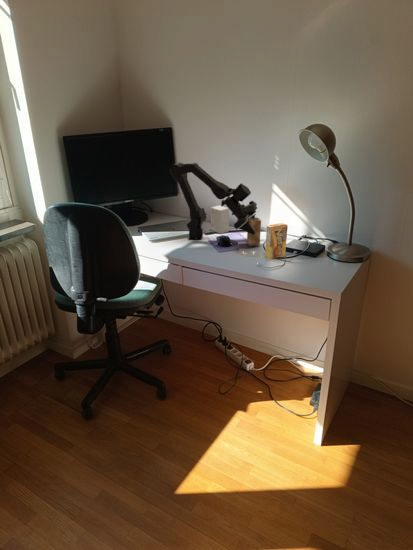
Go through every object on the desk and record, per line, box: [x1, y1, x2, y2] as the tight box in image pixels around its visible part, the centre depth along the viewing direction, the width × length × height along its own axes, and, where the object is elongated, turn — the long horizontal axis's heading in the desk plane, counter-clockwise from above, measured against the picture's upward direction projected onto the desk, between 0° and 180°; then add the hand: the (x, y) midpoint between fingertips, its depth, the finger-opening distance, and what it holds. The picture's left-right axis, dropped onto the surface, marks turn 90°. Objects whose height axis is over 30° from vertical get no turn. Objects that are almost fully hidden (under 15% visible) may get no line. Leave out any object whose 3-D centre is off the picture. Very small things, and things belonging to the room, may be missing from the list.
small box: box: [210, 204, 230, 234], centre depth 224 cm, size 8×6×13 cm
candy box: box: [264, 222, 289, 260], centre depth 191 cm, size 9×4×15 cm, turn 116°
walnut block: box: [246, 217, 262, 247], centre depth 203 cm, size 5×5×12 cm
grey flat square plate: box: [237, 248, 261, 258], centre depth 198 cm, size 10×10×1 cm
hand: (256, 231), depth 203 cm, fingers closed on walnut block, 7 cm apart
